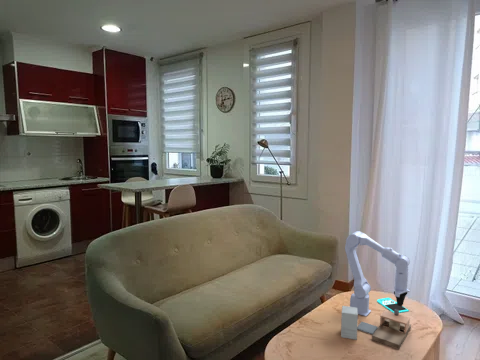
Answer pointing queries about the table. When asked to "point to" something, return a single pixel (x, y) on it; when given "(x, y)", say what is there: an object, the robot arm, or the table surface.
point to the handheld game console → (391, 305)
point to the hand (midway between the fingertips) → (399, 305)
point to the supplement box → (349, 322)
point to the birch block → (394, 325)
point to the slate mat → (367, 328)
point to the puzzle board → (390, 335)
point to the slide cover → (395, 318)
